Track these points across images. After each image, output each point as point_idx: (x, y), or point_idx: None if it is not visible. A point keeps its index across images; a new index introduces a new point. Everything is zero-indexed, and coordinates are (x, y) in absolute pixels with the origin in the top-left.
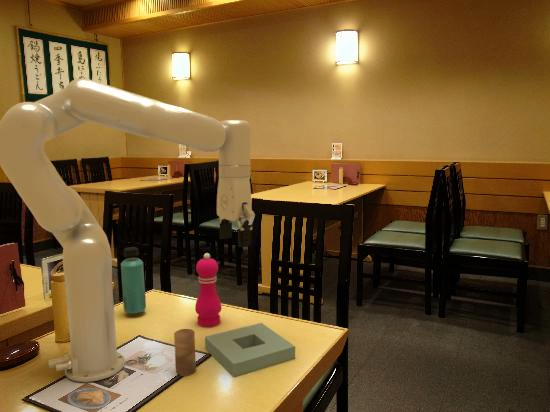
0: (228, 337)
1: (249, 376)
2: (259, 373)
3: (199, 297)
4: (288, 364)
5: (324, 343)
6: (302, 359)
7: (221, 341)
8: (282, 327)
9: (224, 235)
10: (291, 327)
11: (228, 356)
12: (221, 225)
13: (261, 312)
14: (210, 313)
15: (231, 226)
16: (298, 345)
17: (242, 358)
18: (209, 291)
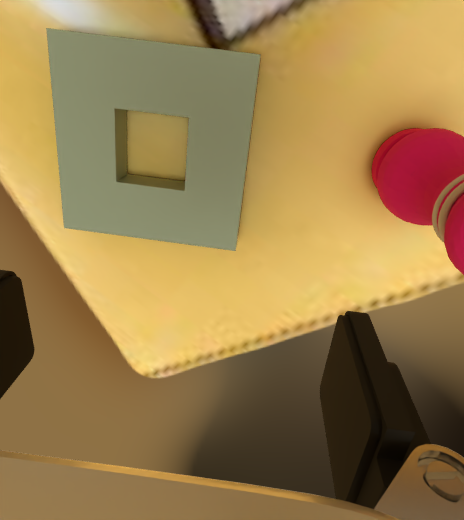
0: (208, 117)
1: None
2: None
3: (459, 153)
4: None
5: (107, 309)
6: None
7: (196, 82)
8: (233, 296)
9: (336, 354)
10: (219, 311)
11: (96, 42)
12: (368, 414)
13: None
14: (384, 159)
15: (334, 478)
16: (129, 263)
17: (65, 71)
18: (427, 187)
